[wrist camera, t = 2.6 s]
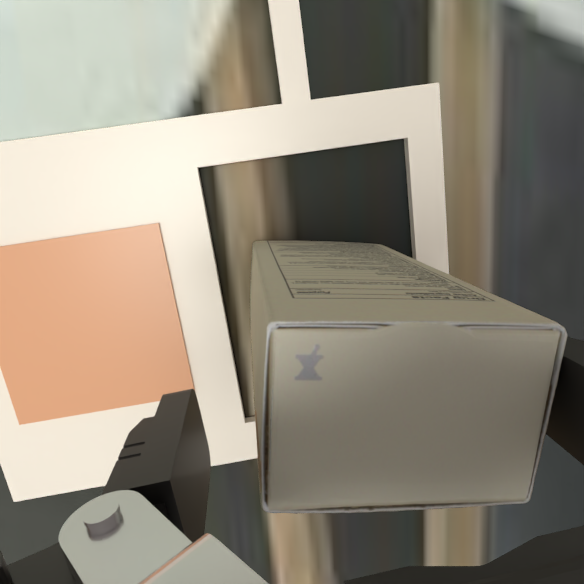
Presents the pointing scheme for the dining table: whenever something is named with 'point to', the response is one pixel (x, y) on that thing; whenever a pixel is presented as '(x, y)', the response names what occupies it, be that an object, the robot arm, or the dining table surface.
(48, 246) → the window card
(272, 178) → the dining table surface
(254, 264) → the skincare box
